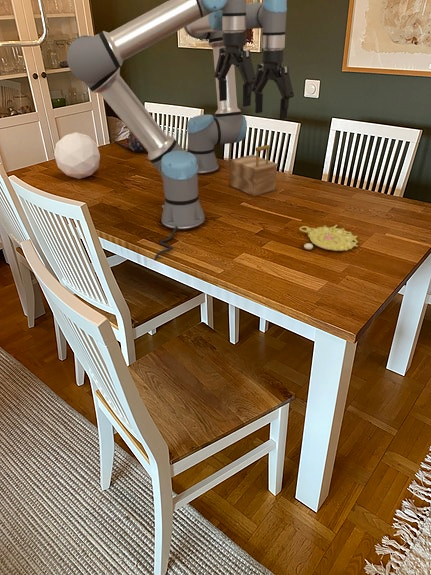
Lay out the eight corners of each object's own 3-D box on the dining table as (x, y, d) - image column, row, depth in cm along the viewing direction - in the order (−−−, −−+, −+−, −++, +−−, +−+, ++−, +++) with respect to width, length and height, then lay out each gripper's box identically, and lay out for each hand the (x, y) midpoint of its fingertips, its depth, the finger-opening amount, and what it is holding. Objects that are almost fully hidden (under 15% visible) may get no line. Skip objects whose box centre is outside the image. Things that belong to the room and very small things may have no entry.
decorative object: (343, 255, 128) (285, 234, 139) (342, 262, 130) (284, 241, 140) (372, 230, 142) (317, 213, 152) (371, 237, 143) (316, 219, 153)
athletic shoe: (138, 131, 244) (117, 136, 240) (148, 124, 224) (125, 129, 220) (144, 152, 247) (123, 157, 243) (154, 147, 227) (132, 152, 223)
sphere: (87, 194, 201) (71, 168, 182) (55, 173, 206) (37, 145, 187) (114, 165, 206) (102, 136, 187) (82, 145, 210) (67, 115, 192)
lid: (277, 166, 175) (278, 145, 170) (255, 171, 169) (256, 150, 165) (252, 156, 186) (252, 137, 181) (230, 161, 181) (230, 141, 176)
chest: (275, 190, 180) (276, 165, 175) (253, 196, 175) (254, 171, 170) (251, 180, 191) (252, 157, 186) (231, 185, 186) (230, 162, 181)
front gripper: (268, 32, 133) (266, 106, 145) (221, 30, 151) (222, 97, 162) (249, 33, 130) (248, 110, 141) (203, 31, 147) (205, 99, 159)
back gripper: (307, 50, 142) (302, 119, 154) (258, 46, 160) (257, 109, 171) (290, 52, 139) (286, 122, 150) (241, 48, 156) (241, 111, 168)
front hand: (234, 103), depth 152 cm, fingers open, 13 cm apart
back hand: (270, 115), depth 161 cm, fingers open, 13 cm apart
